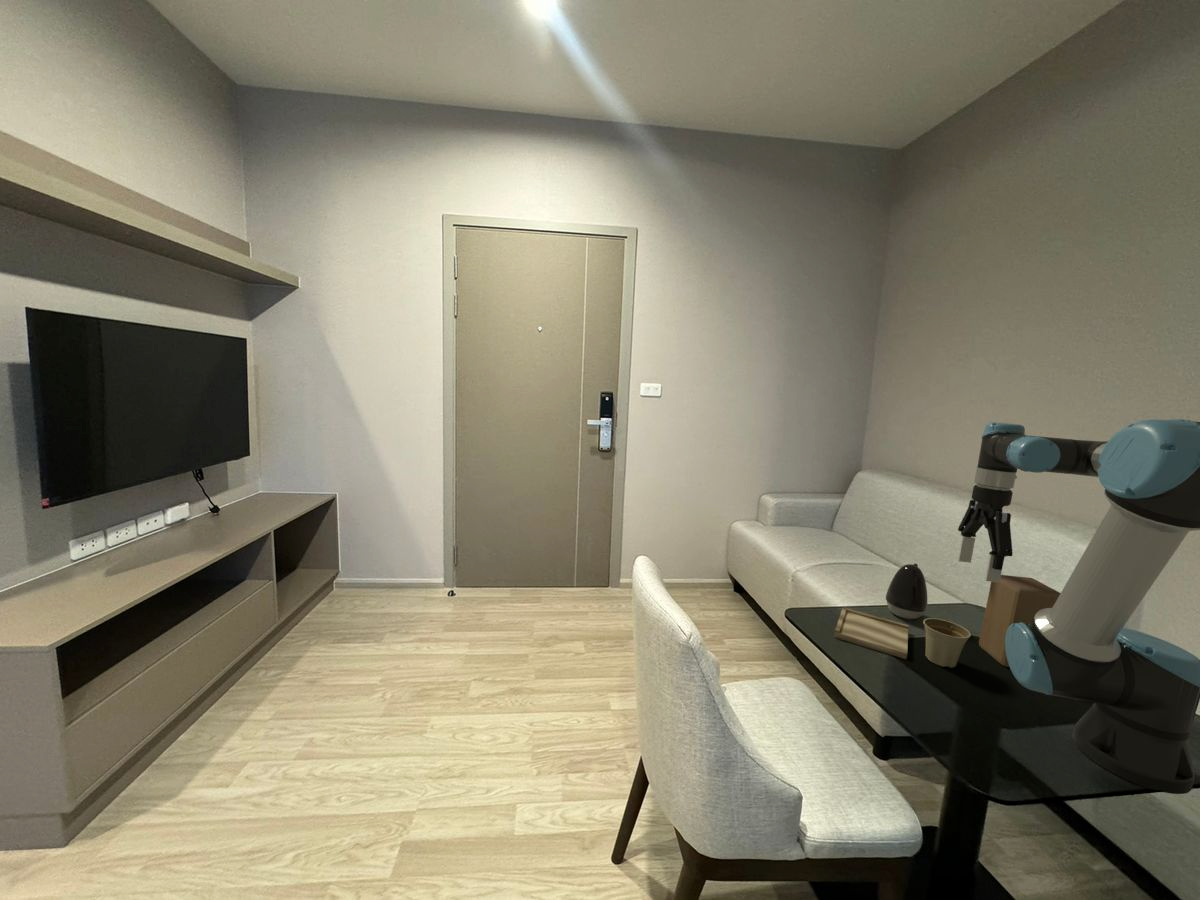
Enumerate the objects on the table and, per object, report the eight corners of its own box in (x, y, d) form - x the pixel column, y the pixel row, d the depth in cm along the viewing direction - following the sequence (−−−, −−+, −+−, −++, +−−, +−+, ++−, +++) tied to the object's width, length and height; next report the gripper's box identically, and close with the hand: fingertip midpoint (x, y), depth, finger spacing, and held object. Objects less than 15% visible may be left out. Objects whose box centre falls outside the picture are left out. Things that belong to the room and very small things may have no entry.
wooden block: (1017, 650, 128) (1033, 576, 125) (1047, 673, 118) (1065, 593, 115) (976, 645, 129) (990, 572, 126) (1002, 668, 119) (1019, 589, 116)
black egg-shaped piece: (928, 616, 144) (937, 566, 142) (920, 627, 137) (929, 575, 134) (889, 603, 151) (897, 555, 149) (879, 613, 144) (887, 563, 141)
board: (906, 659, 120) (907, 651, 120) (834, 637, 128) (835, 629, 128) (907, 632, 133) (908, 625, 133) (841, 614, 142) (842, 607, 141)
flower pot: (916, 645, 127) (922, 614, 125) (961, 658, 122) (968, 625, 121) (918, 663, 119) (924, 629, 117) (966, 677, 114) (973, 642, 113)
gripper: (1044, 500, 107) (1024, 593, 110) (984, 479, 131) (969, 556, 134) (1004, 496, 109) (986, 588, 112) (952, 476, 133) (938, 552, 136)
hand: (977, 571), depth 123 cm, fingers open, 13 cm apart
